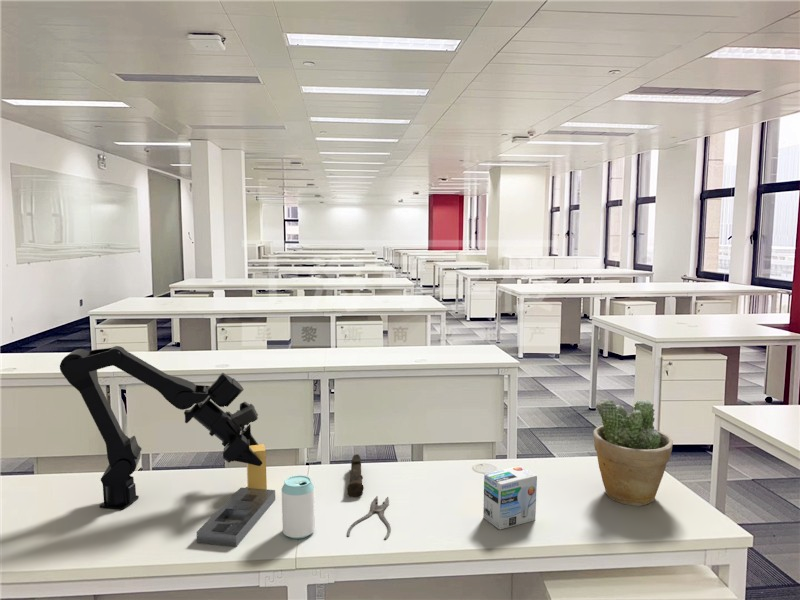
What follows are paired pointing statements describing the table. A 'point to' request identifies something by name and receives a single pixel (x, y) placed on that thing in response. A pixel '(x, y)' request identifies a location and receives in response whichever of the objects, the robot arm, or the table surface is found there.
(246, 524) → the charcoal peg board
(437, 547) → the table surface
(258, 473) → the amber peg
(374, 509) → the pliers
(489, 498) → the light bulb box
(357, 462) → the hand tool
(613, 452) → the potted plant
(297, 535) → the can
